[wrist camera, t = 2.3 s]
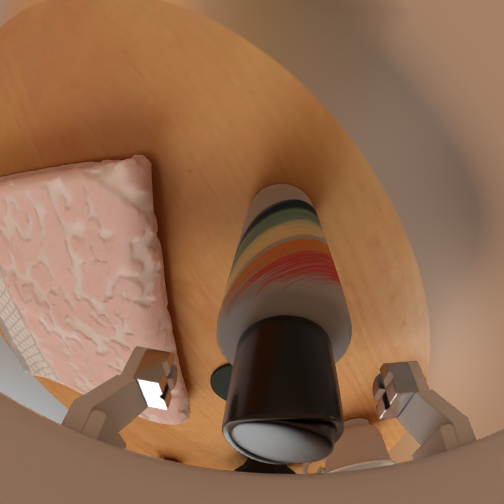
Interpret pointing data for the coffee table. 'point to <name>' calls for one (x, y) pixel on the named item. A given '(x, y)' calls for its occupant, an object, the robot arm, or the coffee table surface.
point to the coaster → (222, 380)
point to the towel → (85, 275)
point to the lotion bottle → (283, 333)
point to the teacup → (356, 449)
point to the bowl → (264, 467)
